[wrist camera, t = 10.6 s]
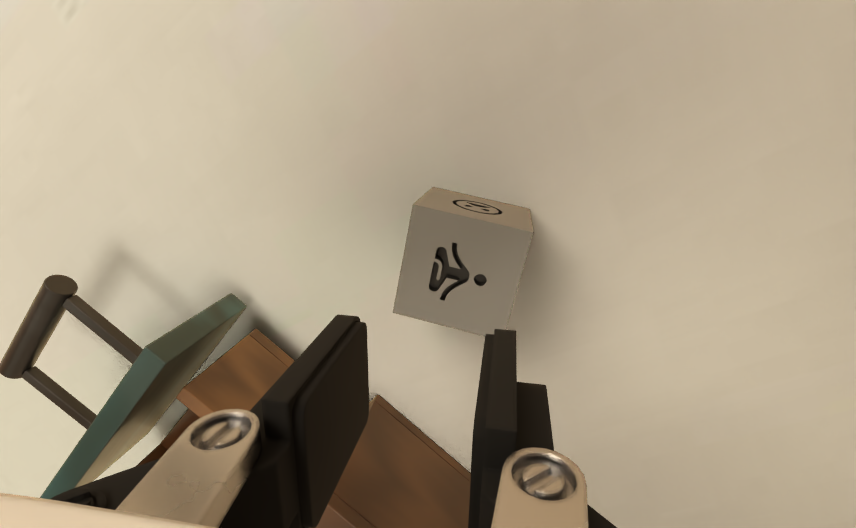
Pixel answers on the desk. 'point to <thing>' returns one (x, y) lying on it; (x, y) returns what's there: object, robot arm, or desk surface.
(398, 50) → the desk surface
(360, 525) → the cabinet
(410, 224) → the dice cube
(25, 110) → the desk surface
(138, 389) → the drawer
